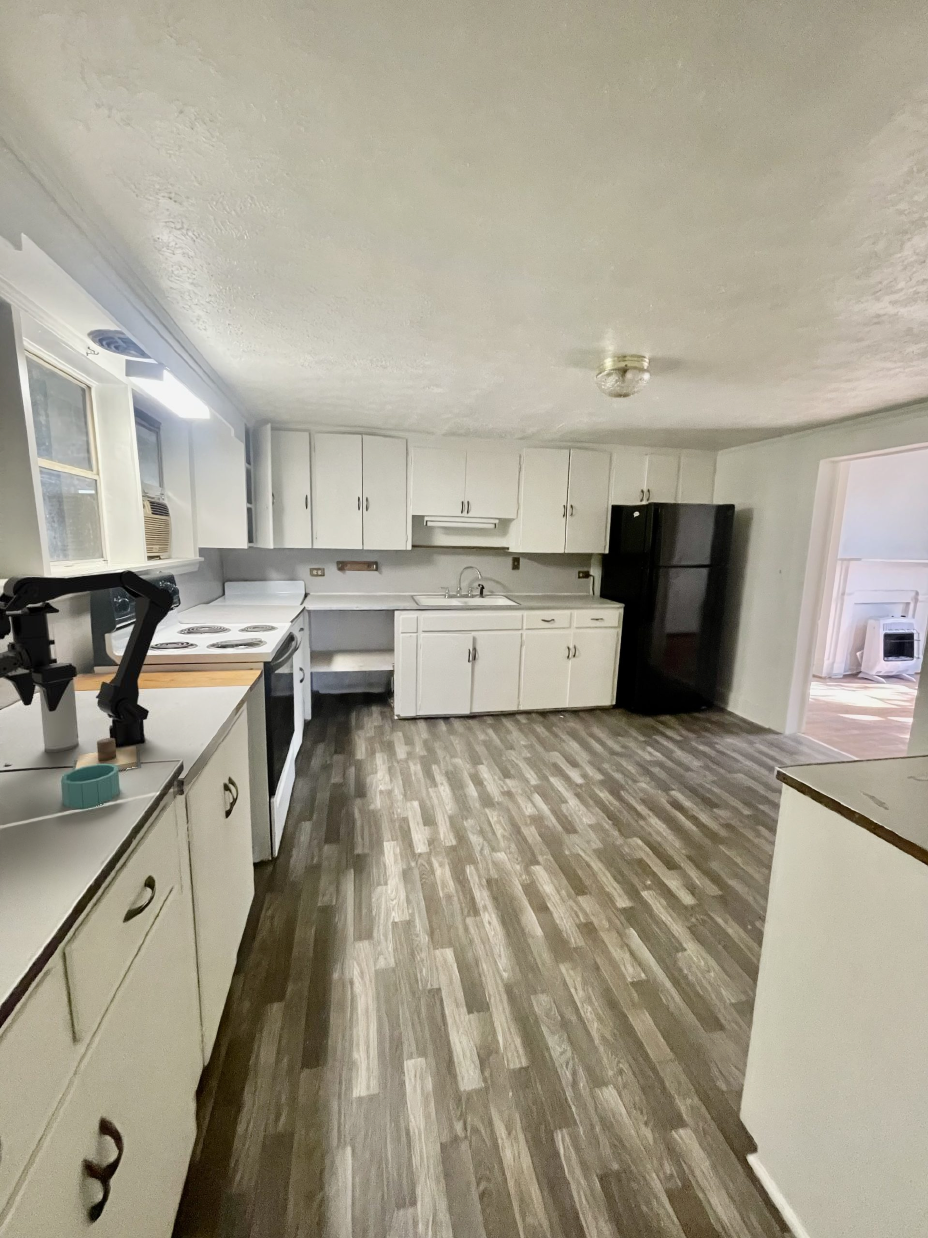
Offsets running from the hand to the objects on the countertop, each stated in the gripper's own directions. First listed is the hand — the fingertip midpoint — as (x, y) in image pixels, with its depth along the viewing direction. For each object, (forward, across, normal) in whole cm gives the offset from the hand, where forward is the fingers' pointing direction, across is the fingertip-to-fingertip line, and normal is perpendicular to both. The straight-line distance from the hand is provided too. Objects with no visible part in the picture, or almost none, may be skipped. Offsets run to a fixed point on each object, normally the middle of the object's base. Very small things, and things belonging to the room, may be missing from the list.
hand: (39, 708), depth 104 cm
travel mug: (+14, -8, +7) cm, 17 cm away
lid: (+13, +11, +6) cm, 18 cm away
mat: (+13, +11, +6) cm, 18 cm away
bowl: (+13, +24, -4) cm, 27 cm away
